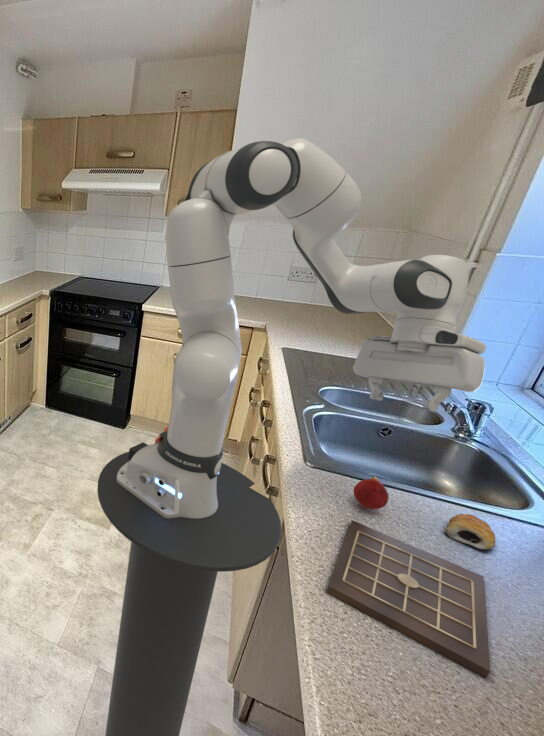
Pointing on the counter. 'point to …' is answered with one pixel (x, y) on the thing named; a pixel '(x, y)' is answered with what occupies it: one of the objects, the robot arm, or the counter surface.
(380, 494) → the onion
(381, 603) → the grid board
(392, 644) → the counter surface
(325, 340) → the counter surface
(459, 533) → the pastry
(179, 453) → the robot arm
